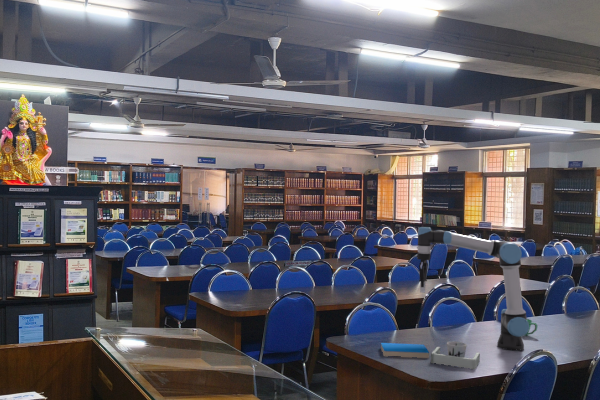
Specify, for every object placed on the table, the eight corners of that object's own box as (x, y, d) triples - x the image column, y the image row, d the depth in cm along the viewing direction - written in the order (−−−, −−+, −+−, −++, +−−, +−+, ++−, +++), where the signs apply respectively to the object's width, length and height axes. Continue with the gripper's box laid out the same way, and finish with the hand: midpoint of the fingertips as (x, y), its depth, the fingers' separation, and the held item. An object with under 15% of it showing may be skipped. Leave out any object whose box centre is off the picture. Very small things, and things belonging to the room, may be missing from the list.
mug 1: (445, 363, 297) (445, 344, 297) (447, 356, 311) (448, 338, 311) (465, 365, 293) (466, 347, 293) (467, 358, 307) (467, 340, 307)
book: (429, 352, 306) (384, 349, 307) (429, 359, 306) (383, 357, 307) (423, 344, 323) (380, 341, 324) (423, 351, 323) (380, 349, 324)
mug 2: (512, 334, 372) (512, 319, 372) (521, 332, 377) (521, 317, 377) (532, 338, 360) (533, 323, 360) (541, 337, 365) (541, 321, 365)
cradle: (479, 361, 302) (479, 352, 302) (475, 369, 287) (475, 359, 287) (437, 355, 312) (437, 346, 312) (430, 362, 297) (430, 353, 297)
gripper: (420, 251, 338) (418, 290, 338) (415, 253, 327) (413, 293, 326) (432, 252, 335) (431, 291, 335) (427, 254, 323) (426, 294, 323)
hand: (422, 292), depth 331 cm, fingers closed
